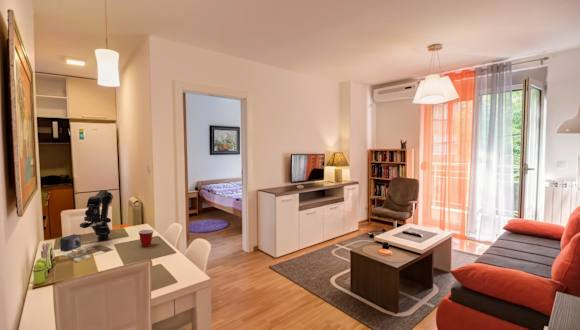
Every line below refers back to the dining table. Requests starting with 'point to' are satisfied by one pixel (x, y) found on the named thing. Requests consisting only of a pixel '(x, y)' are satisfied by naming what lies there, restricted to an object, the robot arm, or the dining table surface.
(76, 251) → the maple block
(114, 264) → the dining table surface
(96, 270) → the dining table surface
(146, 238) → the plastic cup
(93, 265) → the dining table surface
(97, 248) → the trap deck
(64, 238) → the small box
